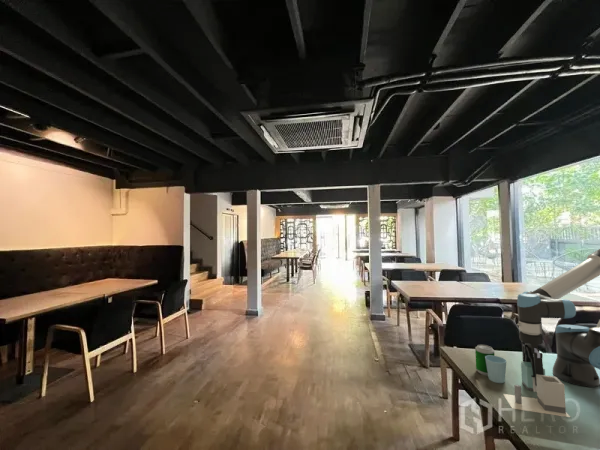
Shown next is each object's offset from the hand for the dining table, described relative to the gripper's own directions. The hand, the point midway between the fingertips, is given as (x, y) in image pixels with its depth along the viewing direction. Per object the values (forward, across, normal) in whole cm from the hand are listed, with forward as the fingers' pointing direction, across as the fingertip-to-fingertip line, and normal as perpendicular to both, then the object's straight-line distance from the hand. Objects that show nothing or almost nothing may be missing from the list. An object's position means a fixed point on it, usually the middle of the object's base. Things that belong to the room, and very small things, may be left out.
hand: (533, 388), depth 118 cm
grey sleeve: (-1, +14, 0) cm, 14 cm away
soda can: (+1, -12, -14) cm, 19 cm away
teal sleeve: (0, 0, 0) cm, 0 cm away
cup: (+1, -3, -12) cm, 13 cm away
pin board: (+1, +14, -5) cm, 15 cm away
